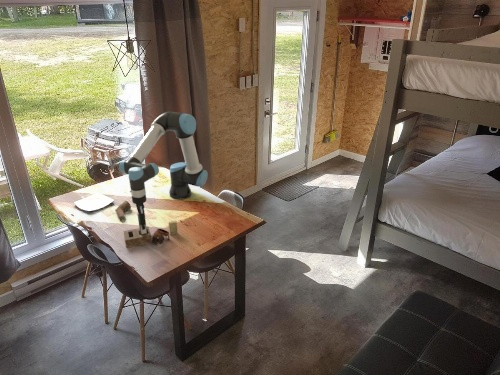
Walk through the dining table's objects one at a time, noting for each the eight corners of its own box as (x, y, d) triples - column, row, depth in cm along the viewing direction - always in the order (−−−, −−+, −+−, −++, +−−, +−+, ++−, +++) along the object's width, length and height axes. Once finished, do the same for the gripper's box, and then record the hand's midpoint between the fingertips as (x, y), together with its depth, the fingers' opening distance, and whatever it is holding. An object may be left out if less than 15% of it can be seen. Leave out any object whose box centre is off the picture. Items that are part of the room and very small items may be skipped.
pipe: (117, 215, 237) (133, 209, 240) (112, 203, 250) (127, 198, 253) (120, 224, 240) (135, 218, 243) (115, 211, 253) (130, 206, 256)
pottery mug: (149, 239, 223) (154, 226, 222) (165, 243, 226) (170, 230, 226) (151, 246, 212) (157, 232, 211) (168, 250, 215) (173, 237, 215)
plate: (89, 215, 246) (88, 212, 244) (72, 206, 256) (71, 202, 255) (116, 203, 260) (116, 200, 259) (99, 195, 271) (98, 191, 270)
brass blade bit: (177, 232, 229) (176, 220, 226) (177, 233, 228) (176, 222, 224) (169, 233, 228) (168, 221, 224) (170, 235, 226) (169, 223, 223)
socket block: (149, 233, 227) (148, 226, 225) (152, 242, 219) (151, 235, 217) (124, 238, 222) (123, 231, 220) (126, 247, 214) (125, 240, 212)
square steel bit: (146, 231, 222) (143, 210, 216) (147, 234, 219) (144, 213, 213) (140, 232, 221) (137, 211, 215) (140, 235, 218) (138, 214, 212)
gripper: (129, 189, 215) (134, 225, 225) (133, 203, 201) (138, 240, 211) (143, 187, 217) (147, 222, 228) (148, 200, 204) (152, 237, 214)
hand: (143, 231), depth 220 cm, fingers closed on square steel bit, 4 cm apart
